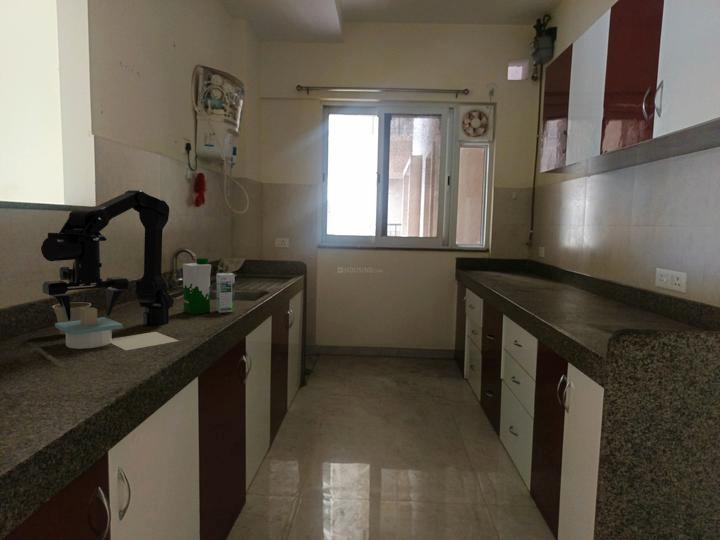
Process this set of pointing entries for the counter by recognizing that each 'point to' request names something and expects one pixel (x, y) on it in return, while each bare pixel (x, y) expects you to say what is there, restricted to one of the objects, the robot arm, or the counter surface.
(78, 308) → the flower pot
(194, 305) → the milk carton
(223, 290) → the syrup box
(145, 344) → the mat
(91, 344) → the bowl
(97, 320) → the lid
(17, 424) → the counter surface
